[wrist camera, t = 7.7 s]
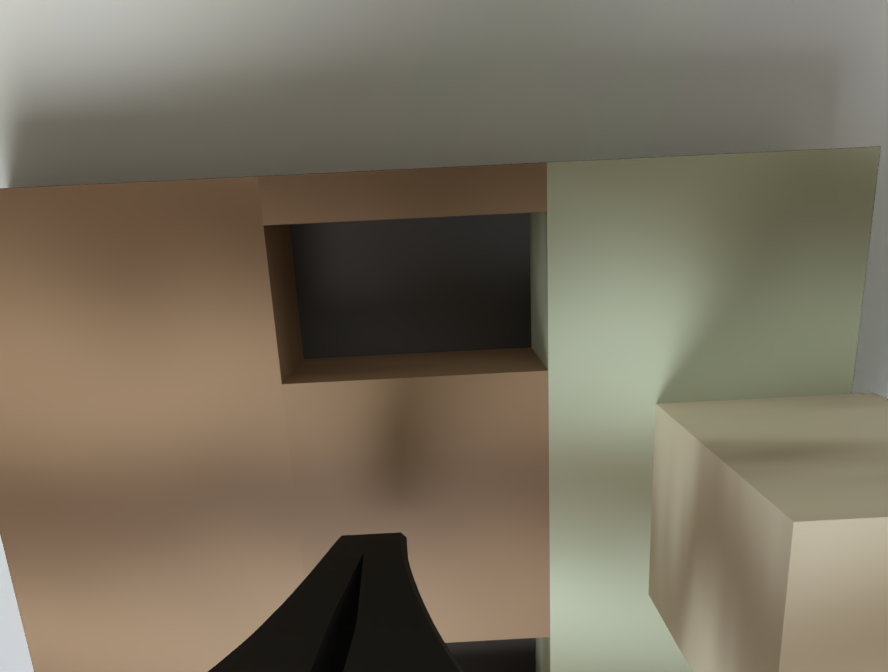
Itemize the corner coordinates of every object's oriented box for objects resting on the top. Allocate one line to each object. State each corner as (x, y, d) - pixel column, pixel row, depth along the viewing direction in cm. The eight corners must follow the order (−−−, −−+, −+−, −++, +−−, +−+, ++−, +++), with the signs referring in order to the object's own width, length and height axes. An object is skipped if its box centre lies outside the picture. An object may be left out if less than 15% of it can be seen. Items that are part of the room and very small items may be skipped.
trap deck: (756, 688, 18) (808, 764, 15) (118, 724, 17) (67, 807, 15) (803, 157, 14) (880, 146, 12) (6, 196, 14) (-84, 192, 11)
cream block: (847, 583, 14) (1071, 784, 9) (648, 594, 14) (765, 801, 9) (871, 392, 13) (1140, 503, 8) (655, 403, 13) (793, 522, 8)
